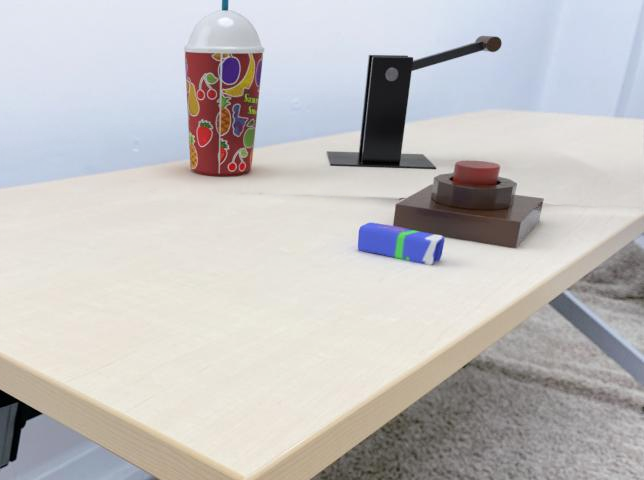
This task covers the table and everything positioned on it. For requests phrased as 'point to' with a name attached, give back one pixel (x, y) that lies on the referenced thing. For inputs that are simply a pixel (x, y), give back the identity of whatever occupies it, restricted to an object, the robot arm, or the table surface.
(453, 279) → the table surface
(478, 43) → the lever
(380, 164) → the bracket
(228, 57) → the smoothie
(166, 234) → the table surface
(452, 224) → the button block
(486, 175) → the button
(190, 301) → the table surface
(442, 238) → the eraser
